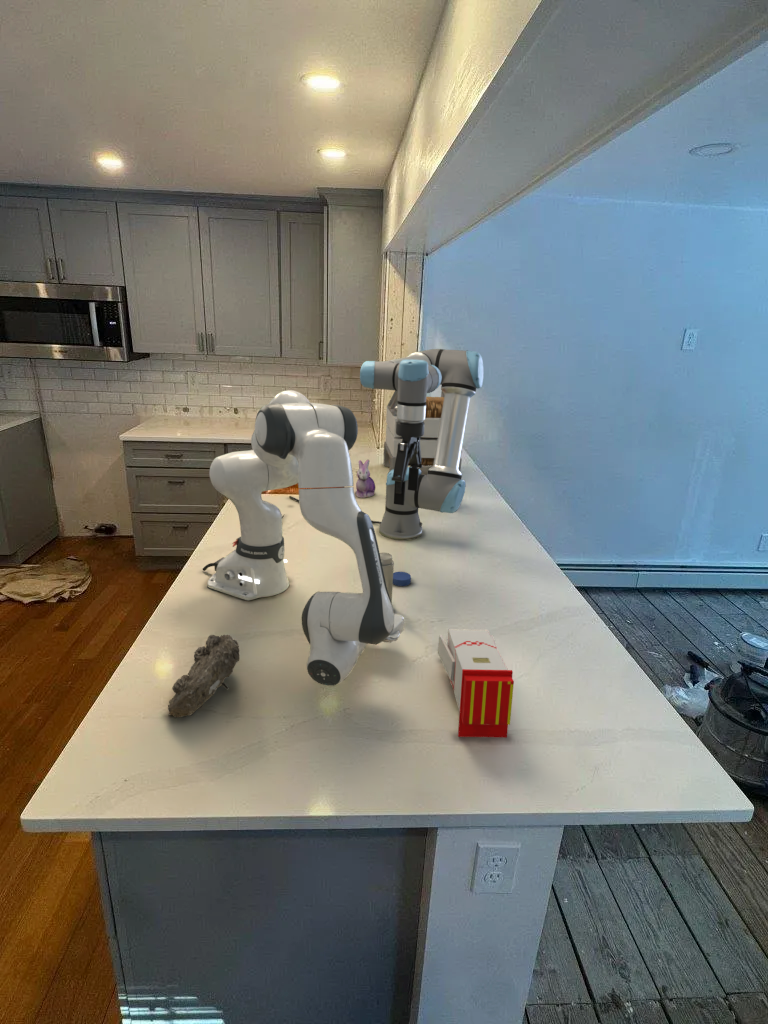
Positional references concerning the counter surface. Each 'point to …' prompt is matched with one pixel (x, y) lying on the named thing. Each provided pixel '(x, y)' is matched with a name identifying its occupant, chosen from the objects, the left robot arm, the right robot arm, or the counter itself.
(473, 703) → the toy
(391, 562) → the jar
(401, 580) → the lid
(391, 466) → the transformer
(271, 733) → the counter surface
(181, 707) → the fossil
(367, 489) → the figurine
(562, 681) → the counter surface
